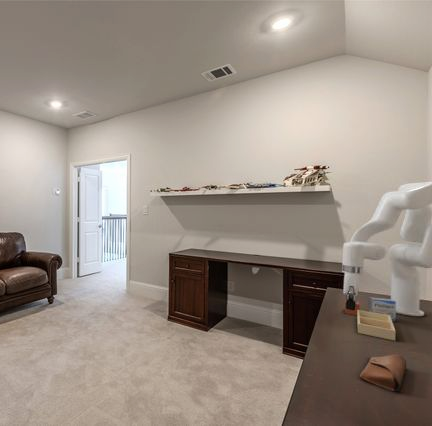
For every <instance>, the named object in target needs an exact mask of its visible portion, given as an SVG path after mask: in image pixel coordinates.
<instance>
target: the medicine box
mask: <svg viewBox="0 0 432 426" xmlns="http://www.w3.org/2000/svg"><path fill="white" fill-rule="evenodd" d="M368 312H373V313H378V314H384V315H390V317H391V320H392V322H394V323H395V322H396V319H397V318H396V315H397V313H396V302H395V301H394V300H392V299H391V298H384V297H383V298H382V297H373V296H369V297H368Z"/></svg>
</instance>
